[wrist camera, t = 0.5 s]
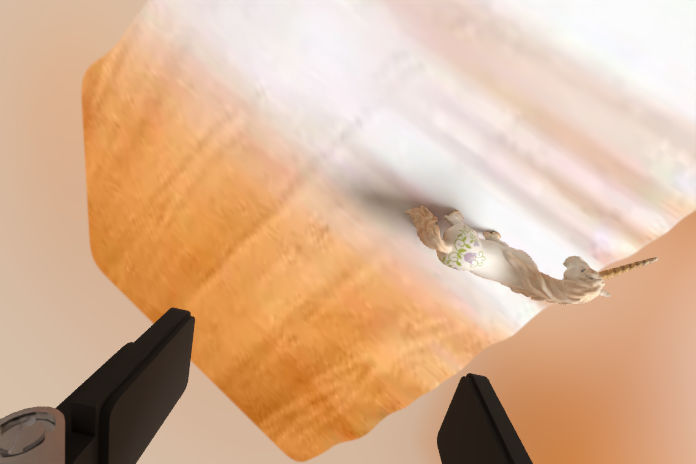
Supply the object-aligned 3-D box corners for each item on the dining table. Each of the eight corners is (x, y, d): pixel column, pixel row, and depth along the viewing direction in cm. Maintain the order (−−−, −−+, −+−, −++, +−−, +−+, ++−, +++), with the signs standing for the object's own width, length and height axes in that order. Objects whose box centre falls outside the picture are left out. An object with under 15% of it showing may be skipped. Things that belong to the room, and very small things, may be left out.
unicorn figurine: (545, 271, 42) (628, 332, 29) (395, 255, 42) (412, 308, 29) (562, 218, 40) (659, 258, 27) (404, 200, 40) (427, 231, 27)
